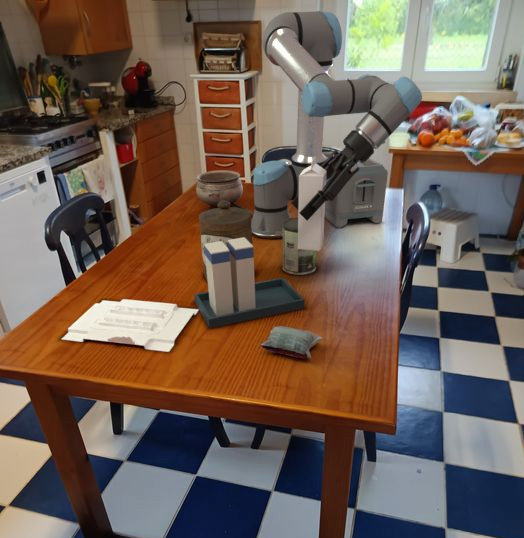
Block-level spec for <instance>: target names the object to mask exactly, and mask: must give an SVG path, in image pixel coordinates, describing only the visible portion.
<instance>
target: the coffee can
mask: <svg viewBox="0 0 524 538" xmlns="http://www.w3.org/2000/svg"><path fill="white" fill-rule="evenodd" d="M282 226H283V237H282V270H283V271H284V272H285V273H287V274H290V275H294V276H304V275H309V274H312V273H314V272H315V271H316V270H317V251H315V250H301V249H298V217H290V219H287V220H285V221H283V222H282Z"/></svg>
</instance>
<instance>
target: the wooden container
mask: <svg viewBox="0 0 524 538" xmlns="http://www.w3.org/2000/svg"><path fill="white" fill-rule="evenodd" d="M218 207H219V208H211V209H207V210H205V211H203V212H201V213H200V214H199V215H198V225H199V230H200V231H199V232H200V243H201V256H202V264H203V274H204V279H205V280H206V281H208V280H207V270H206V260H205V251H204V244H206V243H212V242H218V241H222V242H223V243H224V244H225V246H226V247H227V248H228V243H227V240H231V239H237V238H243V237H245V238H246V239H247V240H248V241H249V242H250V243H251V244H252V245H253V246H254V242H253V235H252V228H251V222H252V216H251V214H250V212H249V211H250V210H249V211H247V210H248V209H247V210H245V209H246V208H245V209H242V208H238V207H236V206H231V205H230V203H229V202H228V201H226V200H222V201H221V202H219V203H218Z"/></svg>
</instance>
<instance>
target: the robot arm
mask: <svg viewBox="0 0 524 538" xmlns="http://www.w3.org/2000/svg"><path fill="white" fill-rule="evenodd" d="M342 46H343V32H342V27H341V23H340V21H339V18H338V17H337V16H336V15H335V14H334V12H331V11H321V10H315V11H287V12H286V11H285V12H283V13H279V14H277V15H275V16H274V17H273V18H272V19H271V20H270V21H269V22H268V24H267V25H266V26H265V28H264V32H263V35H262V48H263V52H264V54H265V56H266V58H267V59H268V60H269V61H270V63H271V64H273V65H274V66H276V67H279V68H281V70H282V71H283V72H284V73H285V75H286V76H287V77H288V79H290V81H291V82H292V83H293V84H294V85H295V86H296V88H297V89H298V95H297V97H298V98H297V121H296V122H297V123H296V124H297V125H296V151H295V153H294V154H293V155H292V156H291V164H289V163H288V162H287V161H286V160H281V159H279V160H270V161H266V162H262V163H260V164H258V165H257V166H256V167H255V168H254V169H253V179H252V184H253V201H254V202H253V205H254V211H253V212H252V210H251V211H250V210H249V209H247V208H245V207H243V206H241V205H238V204H237V203H236V202H234V203H233V204H231V206H233V207H236V208H242V209H245V210H247V211H249V212H250V214H251V228H252V237H256V238H259V239H265V240H267V239H268V240H273V239H274V240H275V239H283V226H282V222H283V221H285V220H287V219H290V218H291V216H290V213H289V208H288V207H289V204H288V203H289V202H290V201H291V202H290V204H291V205H292V206H293V207H294V208H295V209H296V210H298V207H299V175H300V174H301V172H302V171H303V170H304V169H306V168H307V167H309V166H311V162H312V161H313V159H314V158H315V163H316V164H317V165H319V166H320V167H322V168H323V169H325V170H326V171H327V174H326V185H325V186H324V188H323V189H322V191H321V190H318V193H317V194H316V195H315V196H314V197H313V198H312V199H311V201H310V202H309V203H308V204H307V205H306V206H305V207H304V208H303V209H302V210H301V211H300V214H301V215H302V216H303V217H304V218H305V219H306V220H308V219H309V218H310V217H311V216H312V215H313V214H314V213H315V212H316V211H317V210H318V209H319V208H320V207H321V205H322V204H323V203H324V202H325V201H328V200H330V201H332V200H333V199H334V198H335V197H336V196H337V194H338V193H339V192H340V191H341V190H342V188H343V187H344V186H345V185H346V184H347V182H348V181H349V180H350V179H351V177H352V176H353V175H354V174H355V173H356V172H358V171H359V169H360V168H359V167H358V166H357V165H356V164H357V162H358V161H361V162H362V163H364V162H366V161H367V160H368V159H369V158H370V159H371V157H372V156H373V155H374V153H375V150H378V149H379V148H380V147H381V146H382V145H384V144H385V143H386V140H387V139H389V137H390V136H391V135H392V134H393V133H394V132H395V131H396V130H397V129H398V128H399V127H400V126H401V125H402V124H403V123H404V122H405V121H406V120H407V118H408V117H409V116H411V115H412V114H413V112H414V110H415V109H416V108H417V107H418V106H419V105H420V104H421V102H422V100H423V93H422V91H421V90H420V88H419V87H418V86H417V84H416V83H415V82H414V81H413V80H412V79H410V78H409V77H407V76H405V75H404V76H403V75H402V76H400V77H399V78H398V79H397V80H396V81H394V82H393V84H392V83H389V82H387V81H385V80H384V79H382V78H381V77H379V76H377V75H372V74H368V73H367V74H366V73H365V74H363V75H361V76H359V77H357V78H355V79H340V80H339V79H338V80H336V79H334V78H333V77H332V76H331V75H330V74H329V73H328V71H329V70H330V69H331V68H332V67H333V62H334V59H336V57H337V58H338V56H339V55H340V53H341V50H342ZM365 113H366V114H365ZM354 114H355V115H356V114H364V116H363V117H362V119H361V120H359V121H358V123H357V124H355V129H352V130H351V131H350V132H349V133H348V134H347V135H346V136H345V137H344V139H343V140H342V143H343V145H344V146H345V147H344V148H343V149H342V150H340V151H341V152H338V151H339V150H337V149H335V150H333V151H332V152H333V153H332V154H331V156H330V157H329V158H328V159H327V160H326V157H325V156H324V155H323V154H322V152H323V142H324V140H323V139H324V127H325V126H324V125H325V117H331V116H342V115H343V116H344V115H354ZM332 194H333V195H332Z"/></svg>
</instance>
